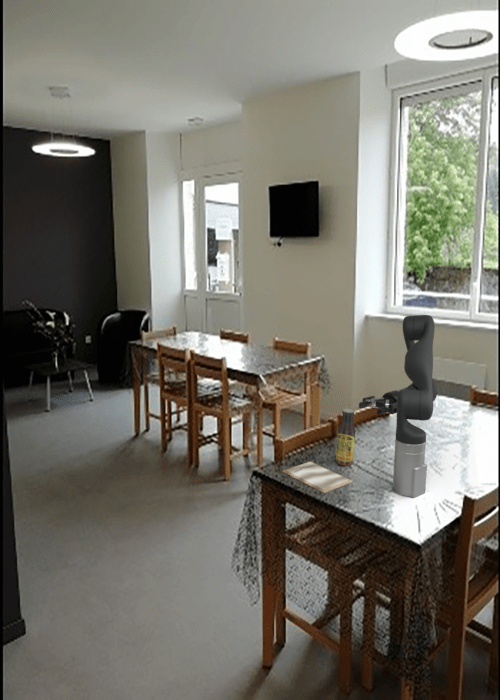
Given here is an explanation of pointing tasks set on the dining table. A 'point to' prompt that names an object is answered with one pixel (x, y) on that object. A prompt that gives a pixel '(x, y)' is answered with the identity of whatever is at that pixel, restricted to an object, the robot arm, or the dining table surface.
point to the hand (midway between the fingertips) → (368, 408)
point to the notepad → (317, 476)
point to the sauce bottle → (346, 439)
